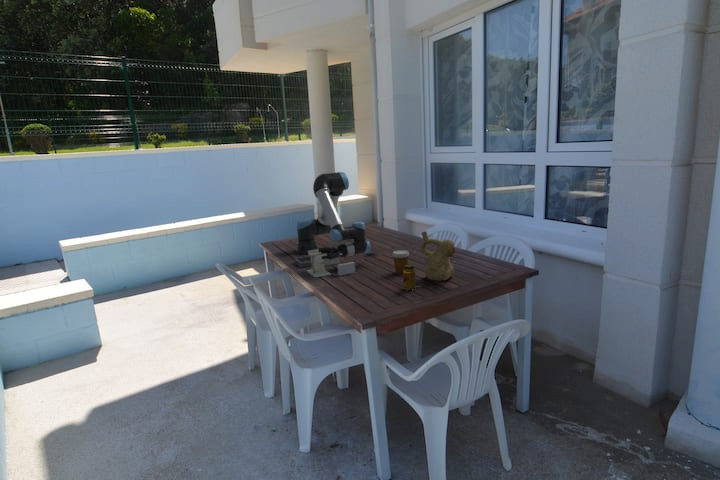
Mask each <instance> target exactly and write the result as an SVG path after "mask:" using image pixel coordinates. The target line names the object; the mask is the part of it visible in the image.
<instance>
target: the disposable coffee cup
mask: <svg viewBox="0 0 720 480" xmlns="http://www.w3.org/2000/svg"><path fill="white" fill-rule="evenodd" d="M409 256H410V252H409V251H408V250H404V249H400V250H394V251H393V252H392V258H393V263H394V271H395V273H396V274H397V275H403V271H404V265H409V264H408V263H409Z"/></svg>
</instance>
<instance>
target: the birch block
mask: <svg viewBox="0 0 720 480" xmlns="http://www.w3.org/2000/svg"><path fill="white" fill-rule="evenodd" d="M324 254H325V253H321V252H319V253H313V254H311V255H310V256H311V265H312V266H311V269H312V272H313V273H314V274H320V273H325V270H326V268H325V265H324V260H318V261H316V256H318V255H324Z"/></svg>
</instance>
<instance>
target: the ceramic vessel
mask: <svg viewBox="0 0 720 480" xmlns="http://www.w3.org/2000/svg"><path fill="white" fill-rule="evenodd" d="M421 236H422V240H423V241H422V242H421V243H420V251H421V253H422V254H423V255H425V256H427V259H426V261H425V265H424V273H425V277H426V278H427V279H428V280H431V281H436V280H437V282H438V281H439V282H441V281H442V280H443V281H446V280H449V278H451V276H452V275H453V274H454V272H455V269H454V266H453V265H452V264H451V258H453V256H455V254H456V253H457V251H456V249H455V245H456V244H455V242H454V241H453V240H451V239H444V240H439V239H435V238H429V236H428V232H427V231H426V230H425V231H422V232H421ZM428 244H435V245H436V246H437V248H436V249H435V250H433V251H430V250H428V249H427V248H426V245H428Z"/></svg>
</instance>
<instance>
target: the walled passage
mask: <svg viewBox="0 0 720 480" xmlns="http://www.w3.org/2000/svg"><path fill="white" fill-rule="evenodd" d="M324 265H325V266H330V265H332V266H333V265H337V266H336V267H337V275H338V276H344V275H351V274H355V273H356V262H354V261H351V262H345V263H341V261H340V256H339V257H337V258H334V259H331V260H330V259H324Z"/></svg>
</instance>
